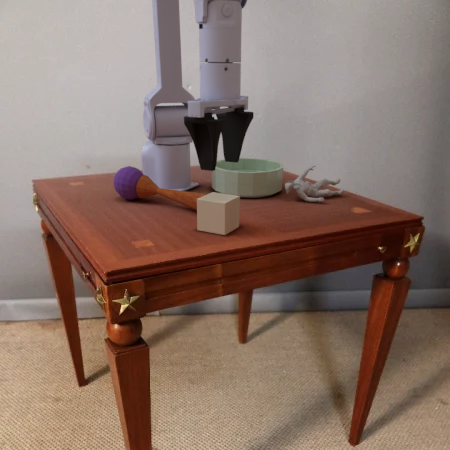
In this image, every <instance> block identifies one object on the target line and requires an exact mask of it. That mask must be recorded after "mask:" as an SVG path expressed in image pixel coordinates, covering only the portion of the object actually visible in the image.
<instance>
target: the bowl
mask: <svg viewBox="0 0 450 450" xmlns="http://www.w3.org/2000/svg"><path fill="white" fill-rule="evenodd" d="M283 178H284V164H283V163H281V162H280V161H276V160H272V159H266V158H258V157H240V158H239V161H238V162H237V163H236V162H226V161H225V159H224V158H223V159H219V160H217V163H216V168H215V170H214V171H211V188H212V190H214V192H217V193H223V194H230V195H236V196H240V198H244V199H245V198H246V199H255V198H256V199H257V198H265V197H270V196H273V195H275V194H277V193H279V192H281V191H282V190H283V180H284V179H283Z"/></svg>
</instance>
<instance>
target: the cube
mask: <svg viewBox="0 0 450 450" xmlns="http://www.w3.org/2000/svg"><path fill="white" fill-rule="evenodd" d="M206 194H207V195H205V196H203V197H200V198H198V199H197V210H196V222H197V224H196V225H197V227H196V229H197V231H200V232H205V233H211V234H216V235H222V236H226V235H228V234H230V233H231V232H233V231H235V230H236V229H238V228H239V227H240V214H241V213H240V210H241V209H240V208H241V197H240V196H236V195H230V194H223V193H219V192H217V191H212V192H210V193H206Z"/></svg>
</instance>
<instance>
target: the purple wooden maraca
mask: <svg viewBox="0 0 450 450" xmlns="http://www.w3.org/2000/svg"><path fill="white" fill-rule="evenodd" d="M113 187H114V189H115V192H116V193H117V194H118V195H119V196H120V197H121V198H122V199H126V200H129V201H133V200H137V199H146V198H149V197H152V196H153V197H154V196H157V195H159V196H162V197H164V198H166V199H169V200H171V201H173V202H176V203H178V204H180V205H183V206H185V207H187V208H190V209H192V210H194V211H197V199H198V198H200V197H203V196H205V195H207V194H208V193H204V192H203V193H202V192H195V191H188V190H186V191H179V190H171V189H163V188H159V187H158V186H157V185H156V184H155V183H154V182H153V181H152V180H151V179H150V178H149V177H148V176H146V175H143V172H142V171H141V170H140V169H139V168H137V167H134V166H130V165H128V166H124V167H121V168H120V169H119V170H117V171H116V173H115V175H114V177H113Z"/></svg>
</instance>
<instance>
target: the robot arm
mask: <svg viewBox="0 0 450 450" xmlns="http://www.w3.org/2000/svg"><path fill="white" fill-rule="evenodd" d="M247 2H248V0H193V5H194V18H195V23H196V24H198V46H199V47H198V49H199V50H198V53H199V57H198V58H199V98H195V97H194V95H193V94H191V93H190V92H189V91H188V90H187V89H186V88H185V87H184V86H183V67H182V43H181V41H182V40H181V39H182V38H181V20H180V19H181V16H180V0H151V7H152V17H153V18H152V21H153V37H154V54H155V55H154V56H155V70H156V86H155V87H154V88H153V89H152V90H151V91H150V92H149V93H148V94H146V95H145V97H144V99H143V116H142V117H143V118H142V121H143V129H144V134H145V136H146V138H147V139H148V140H147V141H146V142H145V143H144V145H143V146H142V150H141V155H140V156H141V170H142V171H141V172H142V173H143V175H146V176H148V177H149V178H150V179H151V180H152V181H153V182H154V183H155V184H156V185H157V186H158V187H159V188H163V189H171V190H179V191H189V190H191V189H194V188H196V187H199V186H200V183H199V182H195V181H194V182H193V181H192V176H191V172H192V171H191V143H193V145H194V148H195V152H196V156H197V160H198V164H199V168H200V170H201V171H210V172H212V171H214V170H215V168H216V163H217V161H218V151H219V143H220V138H222V140H221V141H222V151H223V153H222V154H223V160H224V159H225V161H226V162H236V163H237V162H238V161H239V158H241V154H242V149H243V145H244V141H245V137H246V134H247V132H248V129H249V127H250V125H251V123H252V121H253V120H254V112H253V111H247V110H248V109H249V96H248V95H241V85H242V84H241V81H242V80H241V79H242V78H241V77H242V23H243V22H242V21H243V9H244V8H245V6H246V5H247ZM160 104H173V105H160ZM174 104H177V105H174ZM178 104H179V105H178ZM214 115H215V116H216V118H215V116H214Z"/></svg>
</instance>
